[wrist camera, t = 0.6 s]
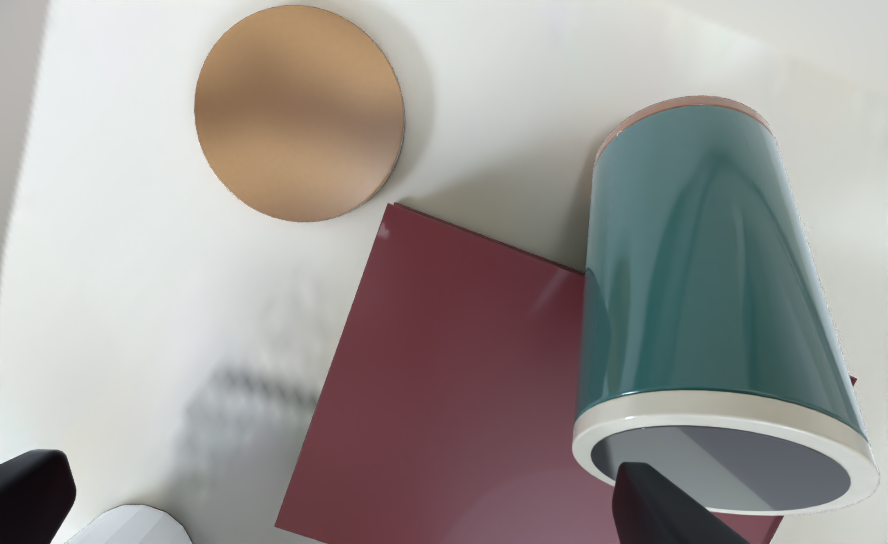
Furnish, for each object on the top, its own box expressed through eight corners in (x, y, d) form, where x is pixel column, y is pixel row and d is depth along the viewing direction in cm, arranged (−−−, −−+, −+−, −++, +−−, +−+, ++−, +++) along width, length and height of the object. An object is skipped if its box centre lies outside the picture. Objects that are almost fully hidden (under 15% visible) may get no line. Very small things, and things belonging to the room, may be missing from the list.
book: (673, 609, 25) (704, 664, 22) (294, 485, 23) (274, 526, 21) (802, 355, 23) (857, 379, 20) (394, 202, 21) (387, 202, 18)
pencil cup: (622, 406, 23) (859, 676, 10) (497, 362, 23) (577, 583, 10) (739, 150, 21) (1217, 75, 8) (606, 96, 21) (887, -73, 8)
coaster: (413, 213, 21) (413, 214, 21) (217, 229, 21) (211, 230, 21) (394, 2, 20) (393, -4, 19) (184, 18, 20) (177, 13, 19)
